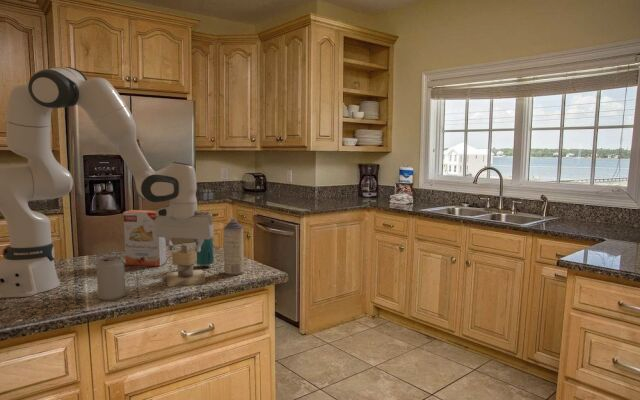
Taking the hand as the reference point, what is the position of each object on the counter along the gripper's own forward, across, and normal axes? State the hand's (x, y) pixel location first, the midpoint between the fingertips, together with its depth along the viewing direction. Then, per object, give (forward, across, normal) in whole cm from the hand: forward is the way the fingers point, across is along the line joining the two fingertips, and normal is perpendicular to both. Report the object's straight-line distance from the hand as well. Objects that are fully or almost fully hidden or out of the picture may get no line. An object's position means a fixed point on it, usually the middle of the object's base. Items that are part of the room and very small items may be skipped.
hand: (184, 250), depth 149 cm
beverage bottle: (+10, 0, -17) cm, 20 cm away
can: (+10, +13, +21) cm, 27 cm away
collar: (+4, 0, 0) cm, 4 cm away
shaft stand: (+10, 0, 0) cm, 10 cm away
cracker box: (+10, +24, -16) cm, 31 cm away
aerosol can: (+10, -13, -11) cm, 20 cm away
